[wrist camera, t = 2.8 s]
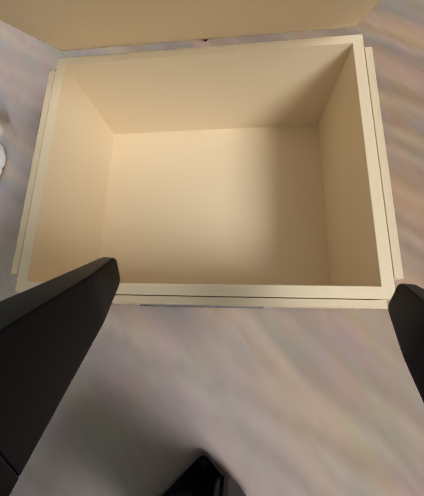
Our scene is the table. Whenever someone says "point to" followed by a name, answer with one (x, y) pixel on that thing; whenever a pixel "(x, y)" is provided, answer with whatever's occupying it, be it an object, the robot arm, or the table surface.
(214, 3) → the far flap
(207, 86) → the carton
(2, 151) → the water bottle
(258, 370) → the table surface
